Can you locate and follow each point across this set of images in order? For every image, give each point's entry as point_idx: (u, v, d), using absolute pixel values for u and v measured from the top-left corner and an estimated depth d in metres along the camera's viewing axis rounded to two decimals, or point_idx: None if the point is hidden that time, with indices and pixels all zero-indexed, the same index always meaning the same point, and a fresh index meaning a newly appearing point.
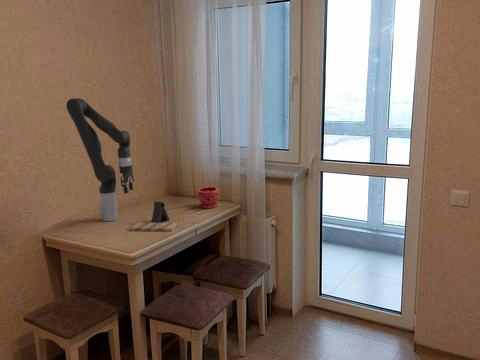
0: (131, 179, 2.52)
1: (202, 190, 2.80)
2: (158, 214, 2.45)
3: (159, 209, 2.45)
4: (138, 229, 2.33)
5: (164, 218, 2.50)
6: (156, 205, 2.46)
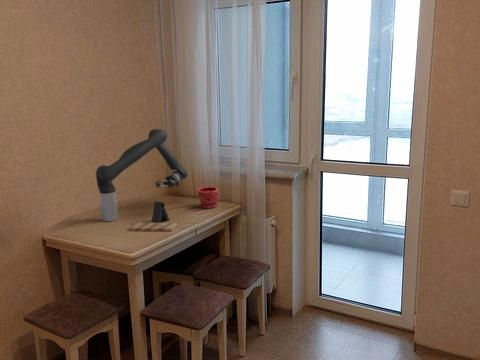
0: None
1: (202, 190, 2.80)
2: (158, 214, 2.45)
3: (159, 209, 2.45)
4: (138, 229, 2.33)
5: (164, 218, 2.50)
6: (156, 205, 2.46)
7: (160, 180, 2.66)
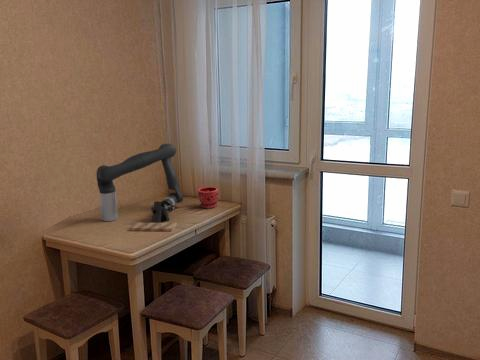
0: None
1: (202, 190, 2.80)
2: (158, 214, 2.45)
3: (159, 209, 2.45)
4: (138, 229, 2.33)
5: (164, 218, 2.50)
6: (156, 205, 2.46)
7: None
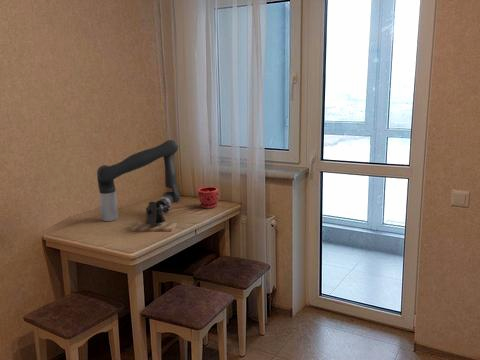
0: None
1: (202, 190, 2.80)
2: (153, 215, 2.32)
3: (154, 210, 2.32)
4: (138, 229, 2.33)
5: (159, 219, 2.38)
6: (151, 205, 2.34)
7: None
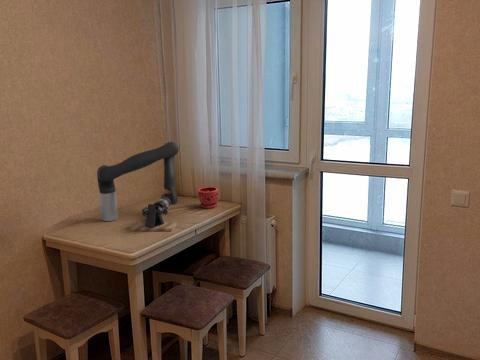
0: None
1: (202, 190, 2.80)
2: (152, 217, 2.33)
3: (153, 212, 2.33)
4: (138, 229, 2.33)
5: (158, 221, 2.38)
6: (150, 208, 2.35)
7: (147, 207, 2.44)
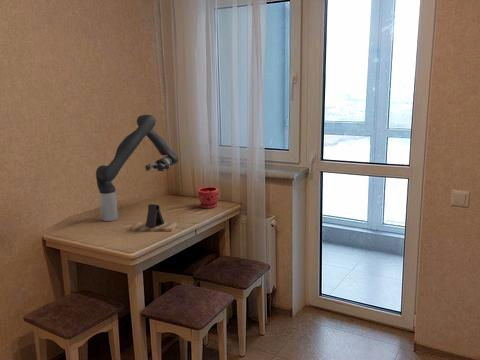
0: (154, 169, 2.59)
1: (202, 190, 2.80)
2: (153, 217, 2.33)
3: (154, 212, 2.33)
4: (138, 229, 2.33)
5: (159, 221, 2.39)
6: (150, 208, 2.35)
7: (150, 164, 2.62)
